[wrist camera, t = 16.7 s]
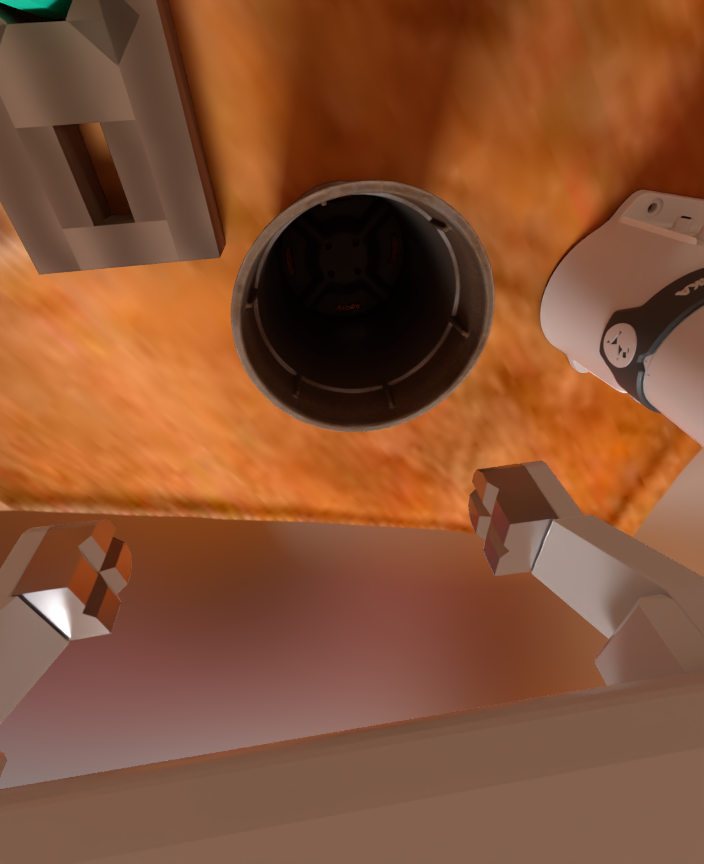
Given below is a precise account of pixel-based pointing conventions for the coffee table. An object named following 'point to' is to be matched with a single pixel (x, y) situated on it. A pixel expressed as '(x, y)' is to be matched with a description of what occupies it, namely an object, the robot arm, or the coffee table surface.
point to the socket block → (124, 132)
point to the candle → (42, 7)
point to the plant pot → (363, 306)
